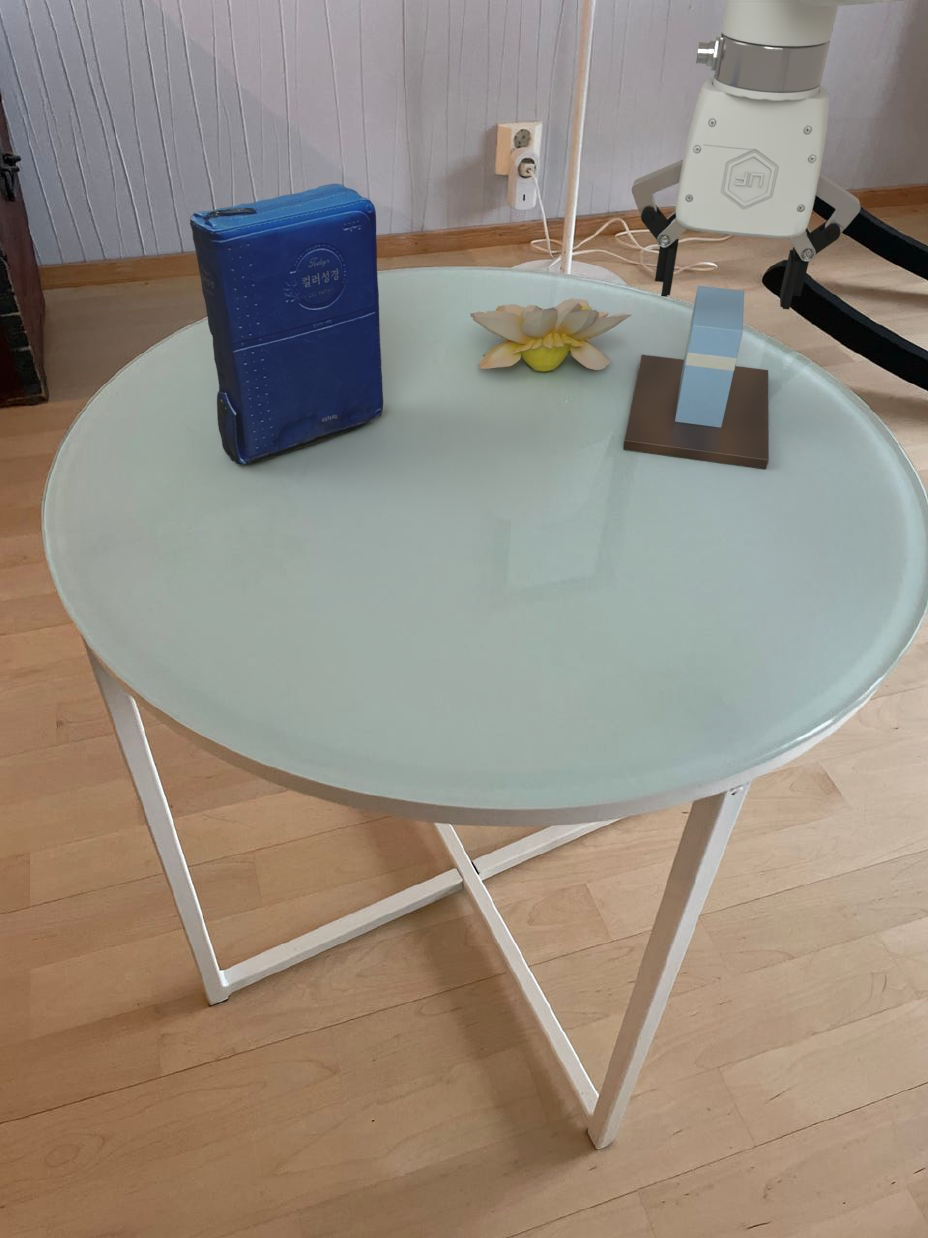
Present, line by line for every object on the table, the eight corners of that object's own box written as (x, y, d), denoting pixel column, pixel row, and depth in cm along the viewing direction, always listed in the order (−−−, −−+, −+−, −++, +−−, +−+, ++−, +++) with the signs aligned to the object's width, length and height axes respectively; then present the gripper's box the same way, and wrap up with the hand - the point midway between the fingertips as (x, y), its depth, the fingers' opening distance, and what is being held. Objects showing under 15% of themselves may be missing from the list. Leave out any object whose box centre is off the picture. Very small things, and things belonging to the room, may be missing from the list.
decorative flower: (618, 312, 101) (626, 224, 93) (632, 390, 95) (642, 303, 86) (470, 321, 101) (465, 234, 93) (474, 399, 95) (469, 313, 87)
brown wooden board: (766, 379, 95) (768, 369, 95) (766, 469, 84) (768, 459, 83) (640, 363, 97) (641, 353, 96) (623, 449, 85) (624, 439, 85)
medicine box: (724, 383, 92) (744, 290, 86) (721, 428, 86) (743, 330, 80) (680, 378, 93) (697, 284, 87) (674, 422, 87) (692, 324, 81)
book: (241, 478, 81) (203, 230, 68) (212, 448, 84) (171, 206, 71) (390, 426, 87) (382, 190, 74) (358, 400, 91) (345, 170, 77)
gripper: (643, 68, 70) (615, 303, 81) (901, 86, 67) (835, 327, 78) (652, 45, 75) (624, 268, 87) (890, 61, 73) (830, 289, 84)
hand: (724, 296), depth 83 cm, fingers open, 9 cm apart
